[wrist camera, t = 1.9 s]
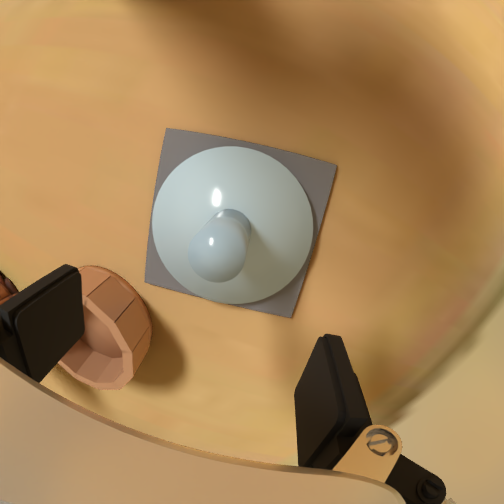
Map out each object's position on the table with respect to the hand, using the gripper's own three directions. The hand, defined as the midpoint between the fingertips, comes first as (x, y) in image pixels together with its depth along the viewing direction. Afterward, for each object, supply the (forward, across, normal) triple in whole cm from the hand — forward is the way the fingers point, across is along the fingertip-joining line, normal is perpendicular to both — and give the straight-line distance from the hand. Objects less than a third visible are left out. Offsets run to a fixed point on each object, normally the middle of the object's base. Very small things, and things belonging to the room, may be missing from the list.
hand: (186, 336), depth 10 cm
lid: (+14, 0, -1) cm, 14 cm away
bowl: (+15, +12, +12) cm, 23 cm away
